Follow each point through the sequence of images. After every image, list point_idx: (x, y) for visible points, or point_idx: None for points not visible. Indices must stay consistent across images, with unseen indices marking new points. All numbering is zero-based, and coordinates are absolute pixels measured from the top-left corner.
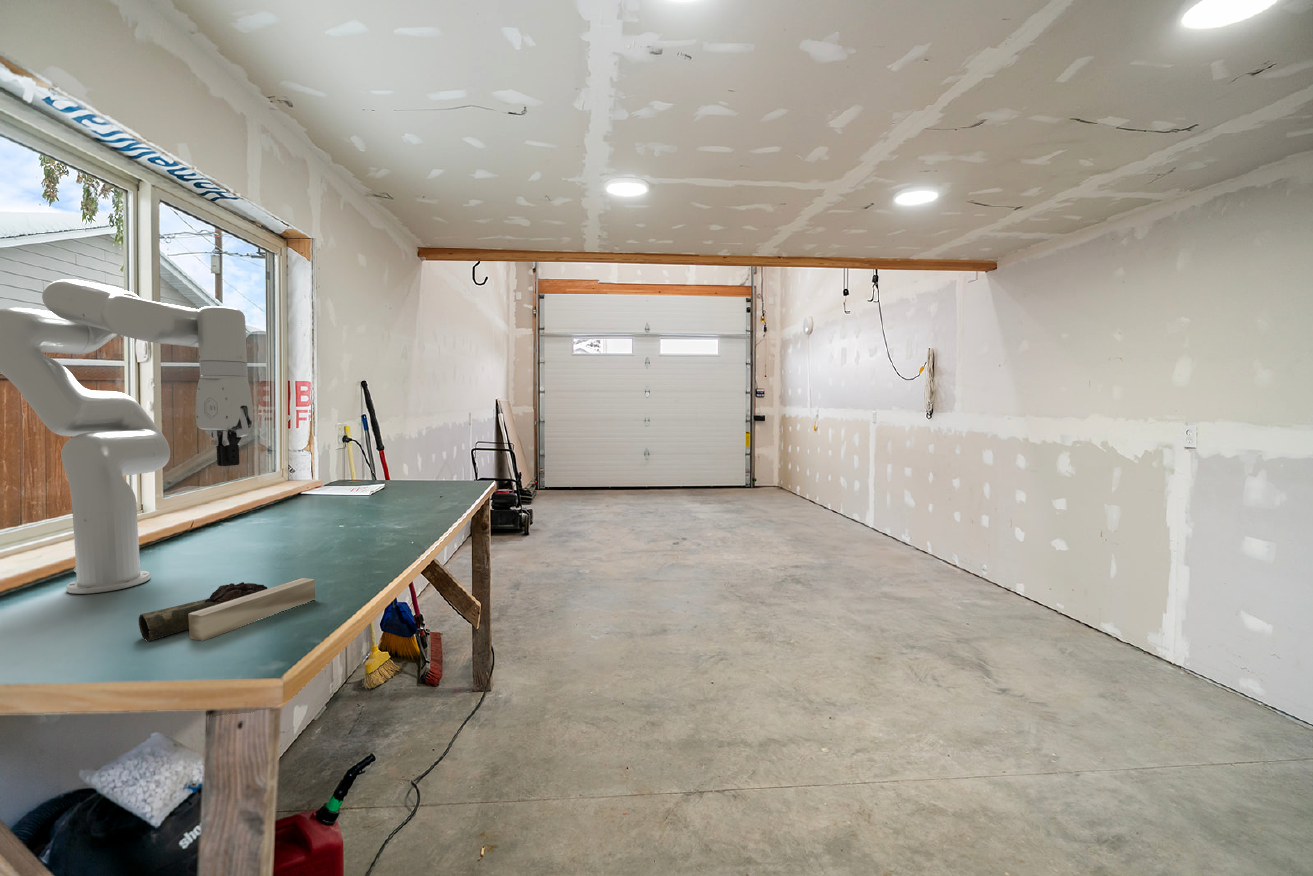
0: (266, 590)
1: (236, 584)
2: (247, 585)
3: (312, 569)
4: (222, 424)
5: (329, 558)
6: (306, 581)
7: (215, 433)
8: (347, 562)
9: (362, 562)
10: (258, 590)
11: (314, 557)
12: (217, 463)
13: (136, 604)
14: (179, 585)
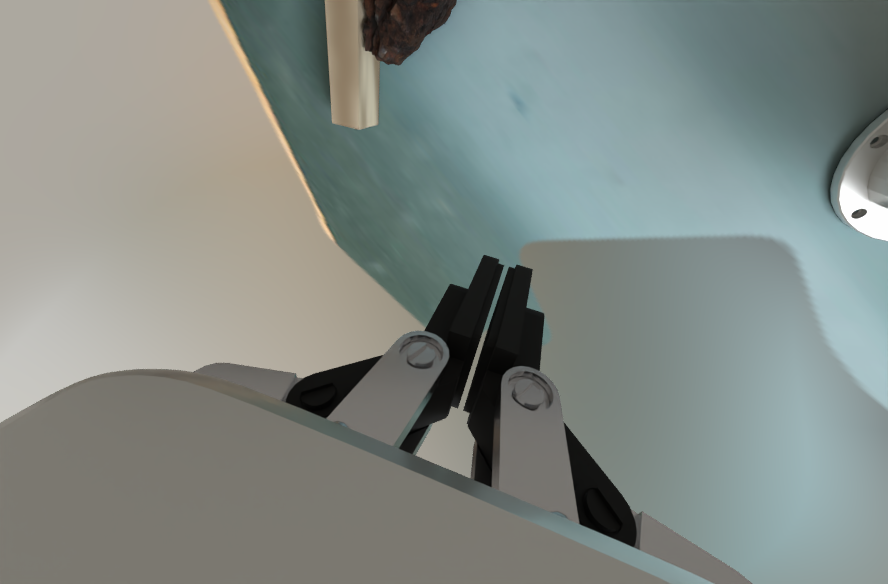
0: (351, 27)
1: (404, 9)
2: (388, 22)
3: None
4: (156, 445)
5: None
6: (333, 106)
7: (523, 478)
8: None
9: None
10: (368, 25)
11: None
12: (530, 273)
13: (726, 9)
14: (705, 173)
